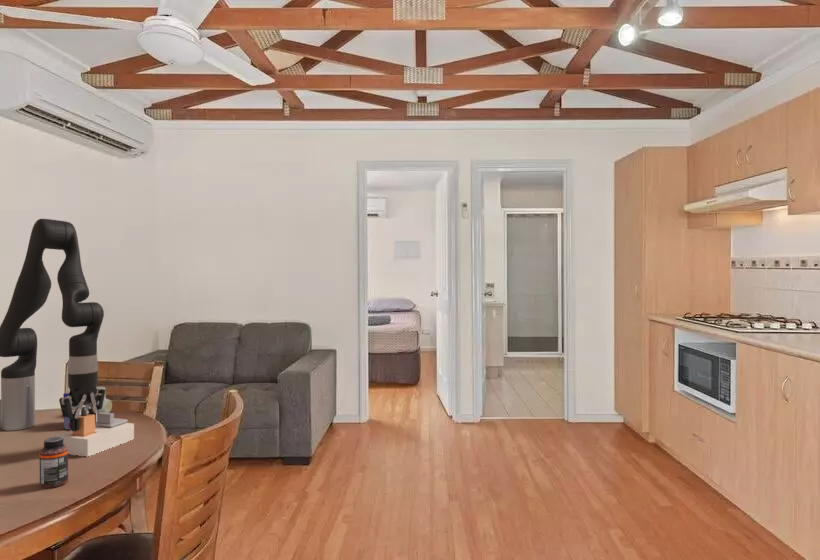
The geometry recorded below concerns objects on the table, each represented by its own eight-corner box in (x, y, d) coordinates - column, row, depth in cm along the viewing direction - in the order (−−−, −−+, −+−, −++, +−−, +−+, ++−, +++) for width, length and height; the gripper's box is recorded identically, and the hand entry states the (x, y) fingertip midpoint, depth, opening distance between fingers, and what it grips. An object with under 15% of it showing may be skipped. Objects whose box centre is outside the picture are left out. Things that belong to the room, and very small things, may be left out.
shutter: (93, 425, 167) (93, 413, 167) (110, 419, 173) (110, 408, 173) (111, 426, 165) (111, 415, 165) (127, 421, 171) (127, 410, 171)
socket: (55, 452, 158) (55, 435, 158) (103, 435, 174) (103, 420, 174) (87, 457, 154) (87, 439, 154) (133, 439, 171) (133, 423, 171)
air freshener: (102, 419, 194) (102, 391, 194) (77, 419, 193) (77, 391, 193) (114, 411, 205) (114, 384, 205) (90, 412, 204) (90, 385, 203)
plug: (72, 447, 159) (72, 408, 159) (83, 443, 162) (83, 405, 163) (83, 448, 158) (83, 409, 158) (94, 445, 161) (95, 406, 161)
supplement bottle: (48, 480, 137) (48, 435, 137) (73, 479, 138) (73, 435, 138) (34, 489, 131) (34, 442, 131) (60, 488, 132) (60, 442, 132)
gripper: (93, 365, 168) (93, 420, 168) (50, 374, 154) (50, 433, 154) (113, 367, 165) (113, 422, 166) (71, 375, 152) (71, 436, 152)
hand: (83, 427), depth 160 cm, fingers open, 5 cm apart
